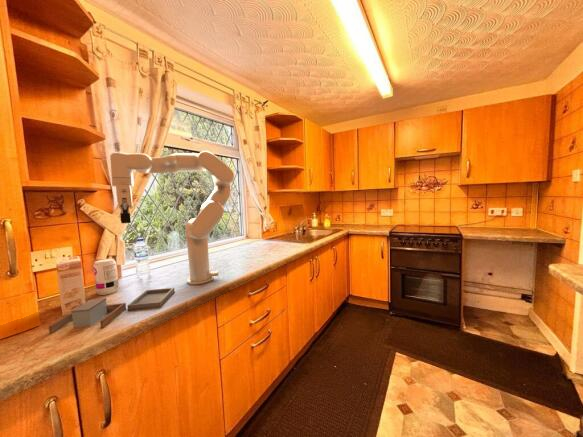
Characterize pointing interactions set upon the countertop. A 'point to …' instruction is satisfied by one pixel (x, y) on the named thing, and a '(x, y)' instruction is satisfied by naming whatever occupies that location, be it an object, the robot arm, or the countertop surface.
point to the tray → (151, 299)
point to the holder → (116, 311)
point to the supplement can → (106, 276)
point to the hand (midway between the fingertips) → (125, 222)
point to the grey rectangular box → (89, 313)
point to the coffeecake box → (70, 283)
